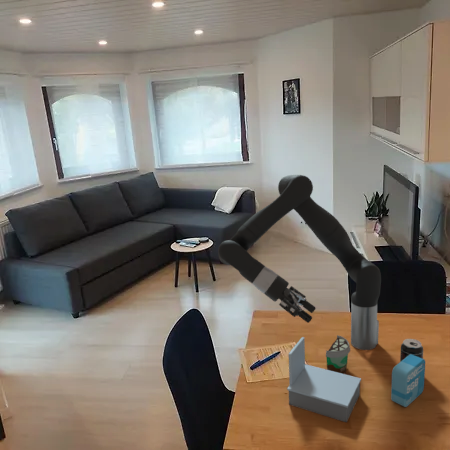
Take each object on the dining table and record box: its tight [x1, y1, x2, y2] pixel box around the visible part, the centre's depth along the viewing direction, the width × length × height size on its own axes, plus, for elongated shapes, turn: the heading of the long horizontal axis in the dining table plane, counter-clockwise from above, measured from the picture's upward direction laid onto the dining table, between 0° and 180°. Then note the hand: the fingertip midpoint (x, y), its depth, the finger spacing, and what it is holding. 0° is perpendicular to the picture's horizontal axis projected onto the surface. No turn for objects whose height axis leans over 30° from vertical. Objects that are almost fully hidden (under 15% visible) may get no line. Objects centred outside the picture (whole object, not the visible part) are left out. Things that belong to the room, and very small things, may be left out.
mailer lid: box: [286, 336, 362, 408], centre depth 136 cm, size 19×15×12 cm
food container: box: [325, 335, 351, 374], centre depth 152 cm, size 12×6×10 cm, turn 148°
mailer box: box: [288, 382, 361, 423], centre depth 138 cm, size 18×14×5 cm
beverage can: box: [399, 338, 424, 363], centre depth 146 cm, size 7×7×12 cm
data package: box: [390, 354, 426, 408], centre depth 136 cm, size 12×4×12 cm, turn 131°
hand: (312, 315), depth 138 cm, fingers open, 8 cm apart
